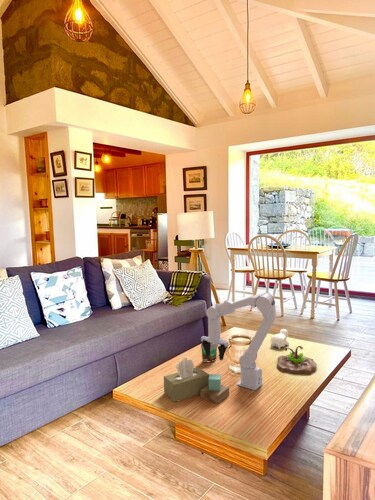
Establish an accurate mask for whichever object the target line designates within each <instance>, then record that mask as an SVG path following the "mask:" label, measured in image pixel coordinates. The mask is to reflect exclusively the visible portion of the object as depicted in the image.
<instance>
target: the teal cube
mask: <svg viewBox="0 0 375 500" xmlns="http://www.w3.org/2000/svg"><path fill="white" fill-rule="evenodd" d="M208 374H209V390H214V391H220V389H221V385H222V383H221V382H222V381H221V379H222V377H221V373H220V374H218V373H217V374H213V373H212V374H211V373H208Z"/></svg>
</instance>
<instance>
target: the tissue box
mask: <svg viewBox="0 0 375 500" xmlns="http://www.w3.org/2000/svg"><path fill="white" fill-rule="evenodd" d="M174 367H175V369H176V370H177V372H175V373H171V374H168V375H164V376H163V393H164V394H165V395H166V394H167V395H168V396H169V397H170V398H171V399H172V400H173V401H174V402H173V401H172V400H171V399H170V398H169V397H168V396H167V395H166V396H167V397H168V398H169V399H170V400H171V401H172V402H173V403H176V402H175V401H178V400H181V401H183V400H182V399H184V400H186V399H185V398H187V399H190V398H192V396H193V397H196V396H199V395H200V390H201V389H202V388H204V387H205V386H207V385H208V384H209V374H210V373H207V372H206V371H205V370H203V369H202V368H201V367H198V366H196V367H195V366H194V362H193V360H192V359H188V358H187V357H184V358H183V359H182V360H181V361H179V363H178V364H176V365H175V366H174ZM198 394H199V395H198ZM195 395H196V396H195ZM189 397H190V398H189ZM178 402H179V401H178Z"/></svg>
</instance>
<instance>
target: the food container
mask: <svg viewBox="0 0 375 500" xmlns="http://www.w3.org/2000/svg"><path fill="white" fill-rule="evenodd" d="M218 347H219V344H215V343H211V346H210V356H208V357H207V356H206V352H205V350H204V347H203V346H202V343H201V345H200V349H201V358H202V362H203V361H212V360H215V359H216V360H217V355H218V354H217V353H218V352H217V351H218ZM216 360H215V361H216Z"/></svg>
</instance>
